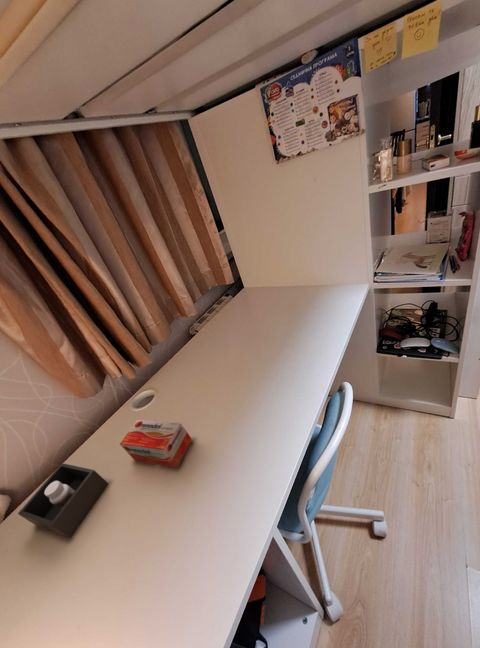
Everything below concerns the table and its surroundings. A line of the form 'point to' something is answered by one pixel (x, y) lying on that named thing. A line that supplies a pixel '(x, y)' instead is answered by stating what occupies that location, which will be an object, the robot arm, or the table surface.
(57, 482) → the pill bottle
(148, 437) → the medicine box
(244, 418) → the table surface
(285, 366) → the table surface
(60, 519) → the basket
